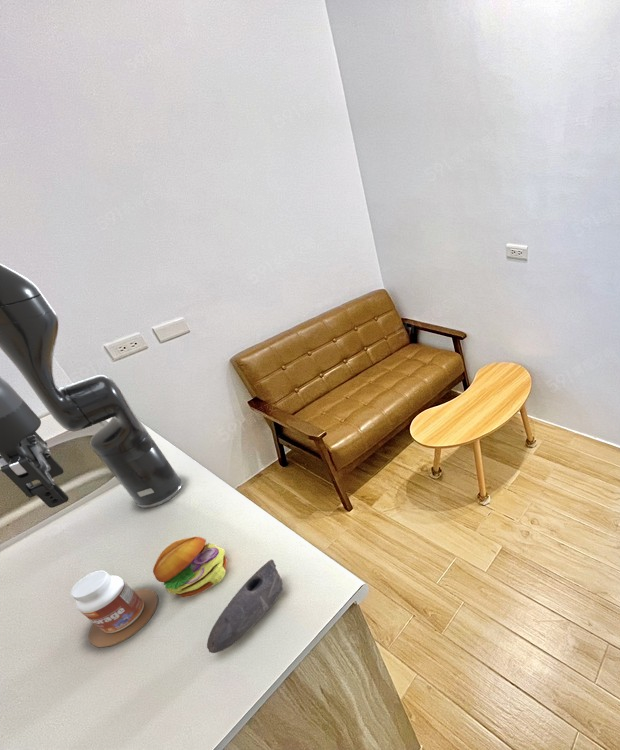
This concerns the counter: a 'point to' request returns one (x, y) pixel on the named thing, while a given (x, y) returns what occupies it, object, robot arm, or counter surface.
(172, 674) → the counter surface
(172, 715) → the counter surface
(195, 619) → the counter surface
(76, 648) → the counter surface
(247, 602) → the perforated stone tool
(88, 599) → the pill bottle
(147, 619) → the coaster
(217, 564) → the cheeseburger
